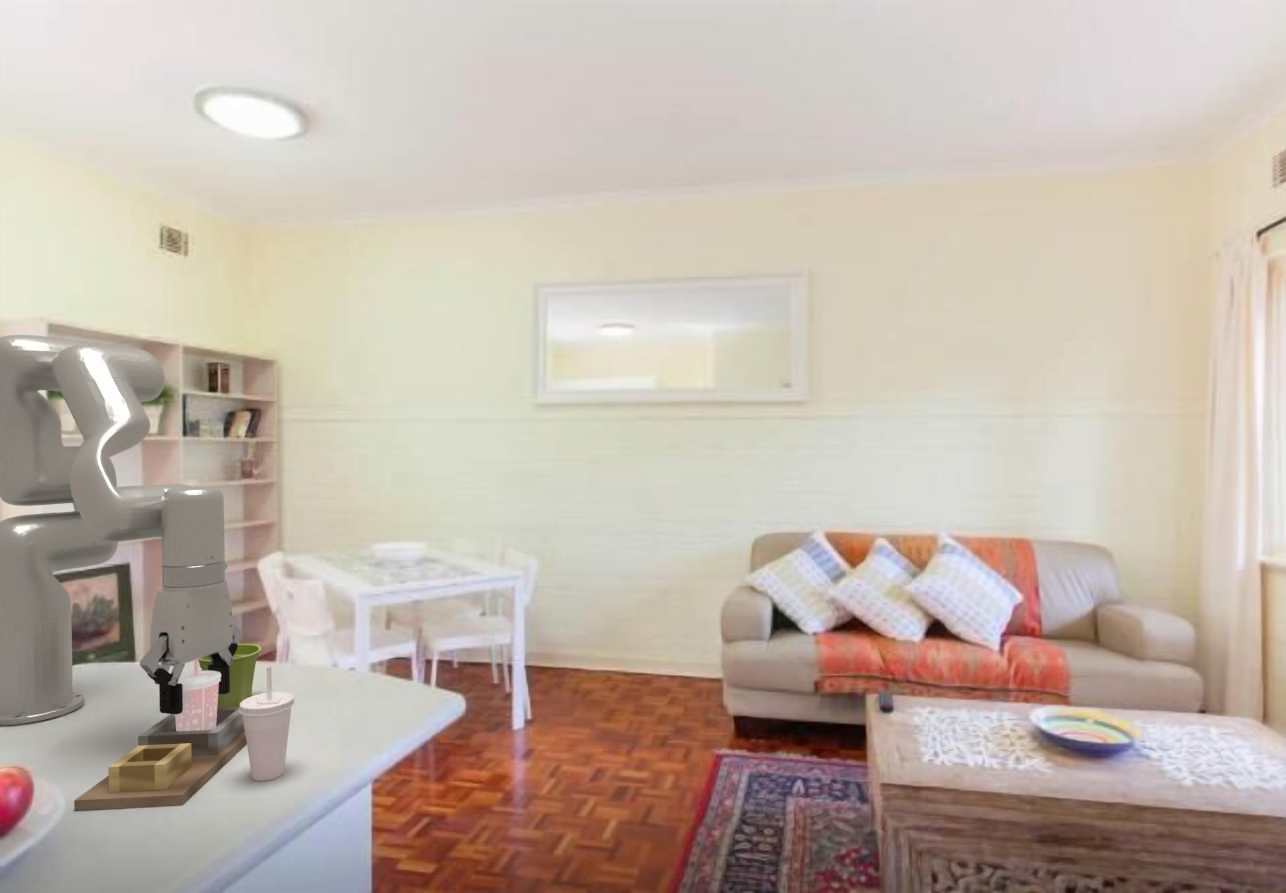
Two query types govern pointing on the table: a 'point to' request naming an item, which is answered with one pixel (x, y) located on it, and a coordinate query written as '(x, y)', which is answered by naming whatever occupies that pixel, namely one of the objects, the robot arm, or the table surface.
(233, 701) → the plant pot
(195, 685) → the beverage cup
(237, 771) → the table surface
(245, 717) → the smoothie
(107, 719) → the table surface
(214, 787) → the table surface
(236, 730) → the fitting board
